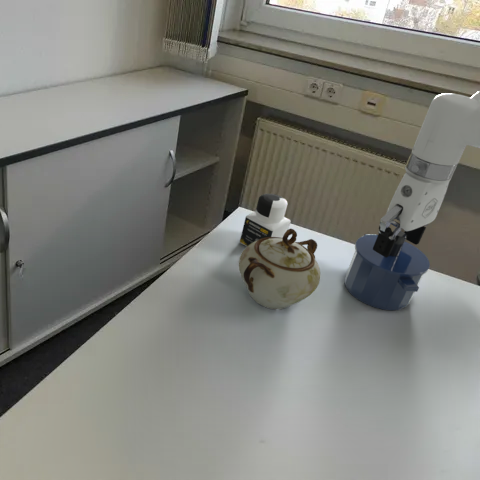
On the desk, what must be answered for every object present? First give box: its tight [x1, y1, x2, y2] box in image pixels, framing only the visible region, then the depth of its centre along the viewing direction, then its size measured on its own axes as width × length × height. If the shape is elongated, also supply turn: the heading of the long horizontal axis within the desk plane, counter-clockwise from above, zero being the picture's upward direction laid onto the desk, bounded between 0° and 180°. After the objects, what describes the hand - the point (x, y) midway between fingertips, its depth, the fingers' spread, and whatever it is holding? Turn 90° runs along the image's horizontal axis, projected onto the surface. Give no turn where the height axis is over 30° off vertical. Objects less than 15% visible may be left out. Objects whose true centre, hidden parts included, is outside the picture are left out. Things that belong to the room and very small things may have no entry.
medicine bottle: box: [239, 193, 292, 247], centre depth 117 cm, size 7×7×12 cm
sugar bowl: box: [238, 228, 321, 310], centre depth 101 cm, size 20×15×15 cm
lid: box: [354, 230, 431, 277], centre depth 104 cm, size 14×14×6 cm
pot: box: [344, 233, 424, 311], centre depth 108 cm, size 13×18×8 cm
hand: (395, 247), depth 104 cm, fingers open, 9 cm apart
